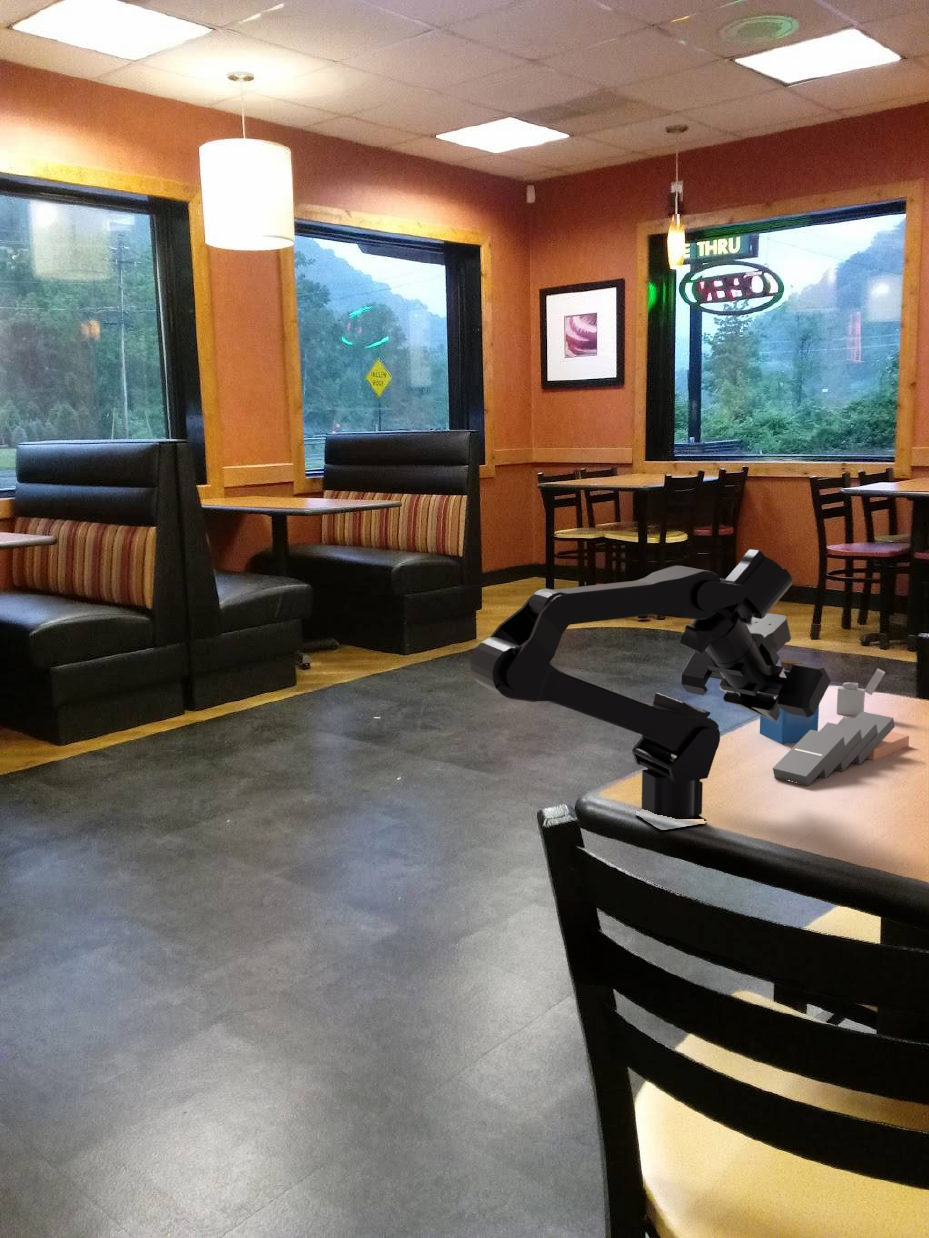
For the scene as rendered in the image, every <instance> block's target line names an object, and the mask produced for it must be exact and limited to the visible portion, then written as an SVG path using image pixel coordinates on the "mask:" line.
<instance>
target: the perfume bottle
mask: <svg viewBox="0 0 929 1238" xmlns="http://www.w3.org/2000/svg"><path fill="white" fill-rule="evenodd" d="M779 660H780V666H781V667H783V668H784V671H787V672H790V670H791V668H792V666H793V665H794V664H798V663H800V664H803V661H802V660H800V659H796V658H794V659H793V658H782V659H779ZM819 712H820V705H819V706H818V708H817V710H816V712H815V714H814V715H812V716H810V717H803V716H799V715H794V714H789V713H787V712H786V711H784V710H782V709H781V708H780V716H779V718H778V719H777V721H774V720H770V719H768V718H765V717H763V716H760V715H759V734H760V735H762V736H764V737H766V738H768V739H769V740H772V741H774V742H776V743H778V744H780V745H786V744H787V745H788V744H789V745H790V744H797V743H798V742H799V741H800V740H801V739H802V738H803V737H804V736H805V735H806V734H807V733H808V732H809V731H810V730H815V731H819V718H820V717H819V716H820V715H819Z"/></svg>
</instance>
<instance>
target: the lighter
mask: <svg viewBox="0 0 929 1238" xmlns="http://www.w3.org/2000/svg"><path fill="white" fill-rule="evenodd" d="M885 674H886V671H884V670H882V669H880V668H877V669H876V670H875V672H874V674H873V676H872V677H871V678H870V680H869V682H868V683H867V685H866V687H865V688H859V683H858V682H848V681H847V682H844V683H842V686H838V688H837V694H836V696H837V698H836V699H837V700H836V715H845V716H854V717H856V716H857V715H858V714H859V713H860V712H861V711H862V712H865V697H866V693H867V694H869V695H870V696H872V694H874V692H875V691H876V689H877V687H878V685H879V684H880V682H881V681H882V679H883V677H884V676H885Z"/></svg>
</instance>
